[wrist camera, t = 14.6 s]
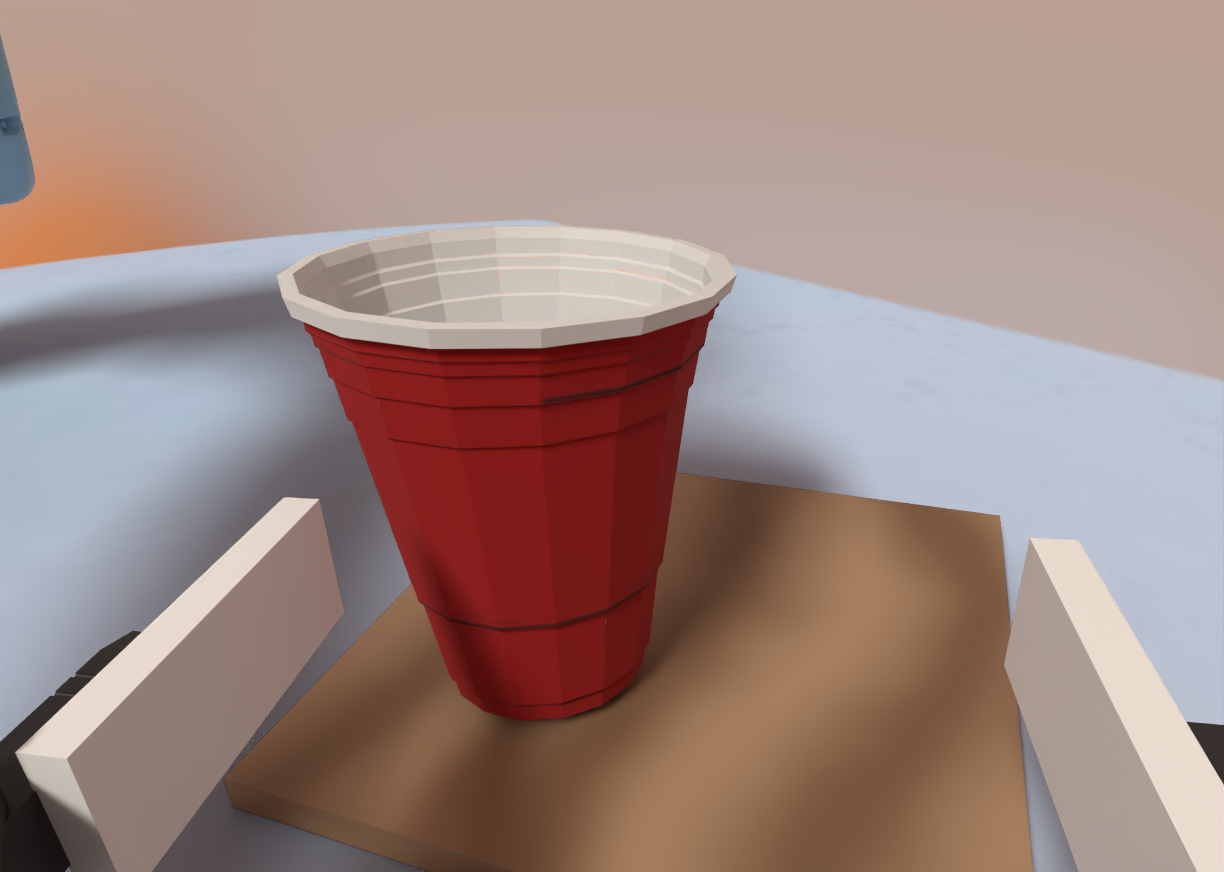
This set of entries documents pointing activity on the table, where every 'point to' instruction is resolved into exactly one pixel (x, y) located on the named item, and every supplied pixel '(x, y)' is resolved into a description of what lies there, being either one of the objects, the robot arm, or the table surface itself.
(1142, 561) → the table surface
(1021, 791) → the walnut board
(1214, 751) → the robot arm
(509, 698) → the plastic cup
